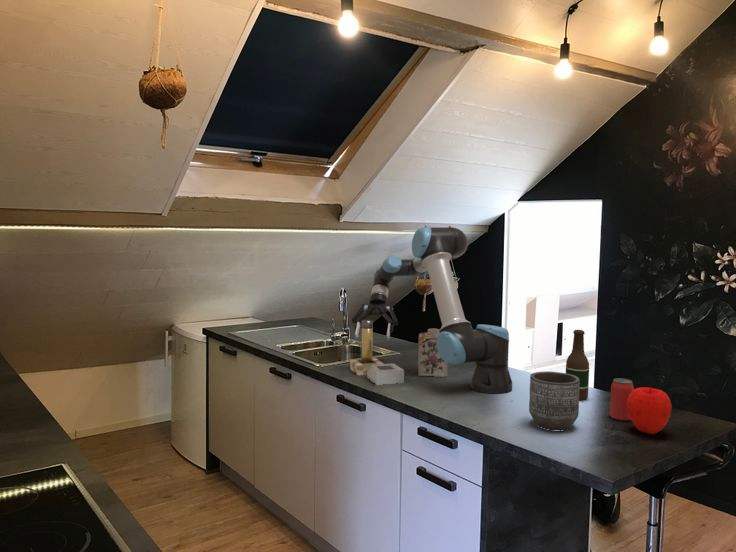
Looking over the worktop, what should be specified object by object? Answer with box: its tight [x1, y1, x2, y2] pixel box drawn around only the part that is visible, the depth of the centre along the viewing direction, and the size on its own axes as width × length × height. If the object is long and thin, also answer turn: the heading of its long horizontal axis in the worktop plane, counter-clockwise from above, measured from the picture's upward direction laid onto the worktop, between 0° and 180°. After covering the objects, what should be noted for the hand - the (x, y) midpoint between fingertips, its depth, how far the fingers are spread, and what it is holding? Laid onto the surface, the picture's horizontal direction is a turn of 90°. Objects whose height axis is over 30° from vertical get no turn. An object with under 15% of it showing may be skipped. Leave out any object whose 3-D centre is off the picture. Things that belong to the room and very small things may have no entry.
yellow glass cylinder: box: [361, 319, 374, 364], centre depth 242 cm, size 4×4×21 cm
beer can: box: [609, 377, 635, 422], centre depth 186 cm, size 7×7×12 cm
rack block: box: [349, 357, 385, 376], centre depth 243 cm, size 11×11×4 cm
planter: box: [528, 371, 580, 432], centre depth 178 cm, size 14×14×15 cm
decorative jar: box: [417, 328, 449, 378], centre depth 240 cm, size 12×12×18 cm
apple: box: [626, 386, 672, 435], centre depth 173 cm, size 12×12×13 cm
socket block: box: [366, 363, 405, 386], centre depth 229 cm, size 11×11×5 cm
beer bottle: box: [565, 329, 590, 402], centre depth 207 cm, size 8×8×24 cm
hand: (372, 336), depth 252 cm, fingers open, 13 cm apart
